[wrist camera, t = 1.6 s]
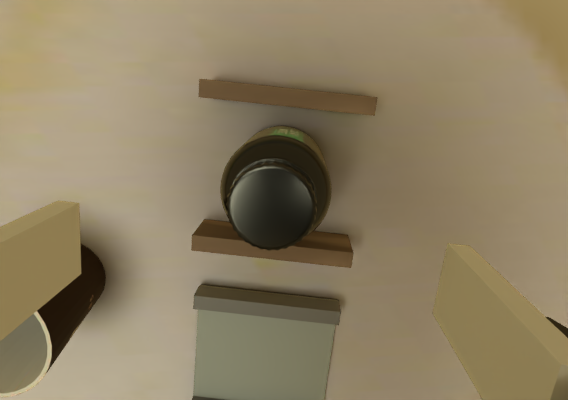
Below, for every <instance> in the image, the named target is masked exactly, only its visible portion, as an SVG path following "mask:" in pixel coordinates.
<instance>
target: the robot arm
mask: <svg viewBox="0 0 568 400" xmlns="http://www.w3.org/2000/svg"><path fill="white" fill-rule="evenodd" d="M80 274H81V246H80V213H79V203H75V202H66V201H56V202H54V203H52V204H50V205H47V206H45V207H43V208H41V209H39V210H36V211H34V212H32V213H30V214H28V215H25V216H23V217H21V218H19V219H17V220H15V221H12V222H10V223H8V224H6V225H4V226H1V227H0V341H1V340H2V339H4V338H5V337H6V336H7V335H8V334H10V333H11V332H12V331H13V330H14V329H16V328H17V327H18V326H19V325H20V324H22V323H23V322H24V321H25V320H26V319H28V318H29V317H30V316H31V315H32V314H34V313H35V312H36V311H37V310H38V309H40V308H41V307H42V306H43V305H44V304H46V303H47V302H48V301H49V300H50V299H52V298H53V297H54V296H55V295H56V294H58V293H59V292H60V291H61V290H62V289H64V288H65V287H66V286H67V285H68V284H70V283H71V282H72V281H73V280H74V279H76V278H77V277H78V276H79V275H80ZM433 315H434V317H435V318H436V320H437V322H438V323H439V325H440V327H441V329H442V330H443V332H444V334H445V336H446V337H447V339H448V341H449V342H450V344H451V346H452V348H453V349H454V351H455V353H456V355H457V356H458V358H459V360H460V361H461V363H462V365H463V367H464V368H465V370H466V372H467V374H468V375H469V377H470V379H471V381H472V382H473V384H474V386H475V387H476V389H477V391H478V393H479V394H480V396H481V398H482V400H568V328H566V327H564V326H563V325H561V324H559V323H558V322H556V321H554V320H553V319H551V318H549V317H545V316H544V315H543V314H542V313H541V312H539V311H538V310H537V309H536V308H535V307H534V306H533V305H532V304H531V303H530V302H529V301H528V300H527V299H526V298H525V297H524V296H522V295H521V294H520V293H519V292H518V291H517V290H516V289H515V288H514V287H513V286H512V285H511V284H510V283H509V282H508V281H506V280H505V279H504V278H503V277H502V276H501V275H500V274H499V273H498V272H497V271H496V270H495V269H494V268H493V267H492V266H491V265H489V264H488V263H487V262H486V261H485V260H484V259H483V258H482V257H481V256H480V255H479V254H478V253H477V252H476V251H475V250H474V249H472V248H471V247H470V246H467V245H458V244H449V243H448V245H447V249H446V254H445V258H444V263H443V268H442V272H441V277H440V281H439V286H438V291H437V295H436V300H435V304H434V309H433Z"/></svg>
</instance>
